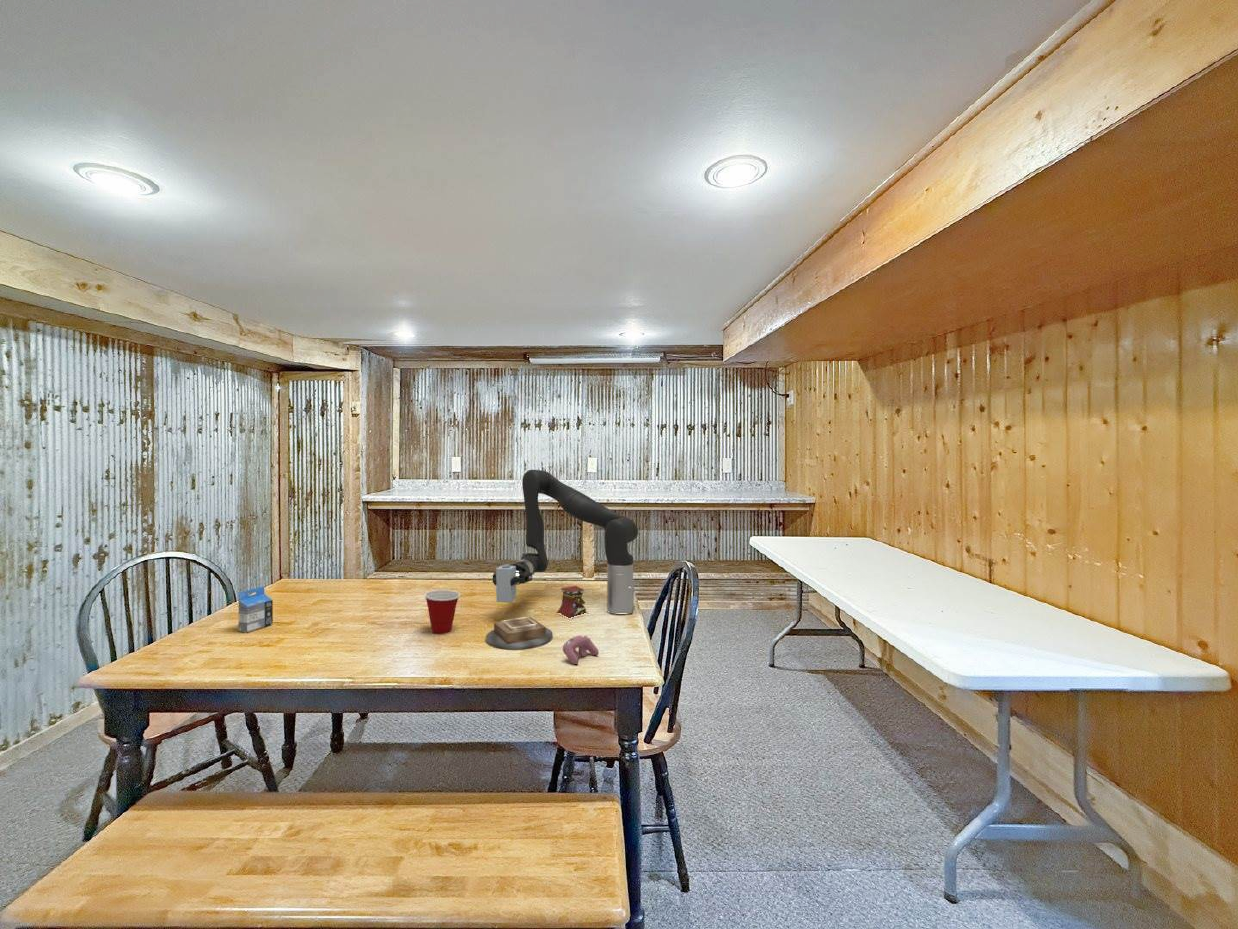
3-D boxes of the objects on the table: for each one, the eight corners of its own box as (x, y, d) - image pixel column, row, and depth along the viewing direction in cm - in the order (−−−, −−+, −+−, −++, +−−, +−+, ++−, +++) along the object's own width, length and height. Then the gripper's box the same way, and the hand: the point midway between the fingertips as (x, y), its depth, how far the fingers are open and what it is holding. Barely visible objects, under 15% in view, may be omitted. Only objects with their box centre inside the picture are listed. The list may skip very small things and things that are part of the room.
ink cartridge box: (247, 633, 171) (246, 593, 171) (237, 632, 172) (237, 592, 172) (273, 625, 179) (273, 587, 179) (264, 623, 181) (264, 586, 180)
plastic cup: (449, 638, 169) (449, 598, 168) (417, 635, 171) (417, 596, 170) (466, 627, 179) (466, 590, 179) (435, 624, 181) (435, 588, 181)
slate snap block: (516, 598, 187) (515, 563, 187) (511, 602, 182) (510, 566, 182) (501, 598, 188) (501, 563, 188) (496, 602, 183) (496, 566, 183)
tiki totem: (568, 619, 188) (568, 593, 188) (556, 613, 195) (556, 587, 195) (589, 615, 193) (590, 589, 193) (576, 609, 200) (576, 584, 200)
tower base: (537, 624, 183) (537, 609, 183) (563, 642, 166) (563, 626, 166) (477, 634, 172) (477, 618, 172) (498, 654, 155) (498, 637, 155)
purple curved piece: (590, 658, 157) (581, 634, 159) (601, 654, 155) (592, 630, 157) (565, 669, 150) (557, 643, 151) (577, 665, 147) (568, 639, 149)
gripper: (501, 560, 200) (482, 570, 183) (539, 561, 198) (524, 571, 181) (501, 581, 200) (482, 593, 183) (539, 582, 198) (524, 594, 181)
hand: (503, 582), depth 182 cm, fingers closed on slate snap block, 5 cm apart
